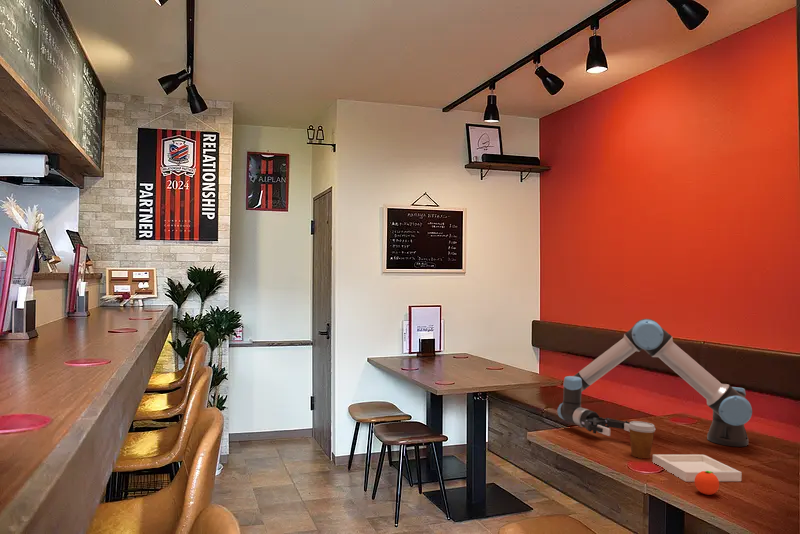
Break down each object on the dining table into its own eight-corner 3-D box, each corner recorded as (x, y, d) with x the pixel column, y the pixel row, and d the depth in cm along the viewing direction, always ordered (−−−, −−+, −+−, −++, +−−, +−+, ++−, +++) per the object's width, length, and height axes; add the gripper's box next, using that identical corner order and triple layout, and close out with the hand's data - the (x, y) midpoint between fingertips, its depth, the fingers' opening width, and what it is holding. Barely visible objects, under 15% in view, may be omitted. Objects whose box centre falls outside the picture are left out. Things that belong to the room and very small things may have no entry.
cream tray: (703, 462, 227) (703, 454, 227) (741, 481, 207) (741, 472, 207) (652, 462, 224) (652, 454, 224) (685, 481, 205) (686, 472, 205)
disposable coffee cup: (656, 461, 227) (658, 428, 227) (629, 458, 229) (630, 425, 229) (651, 454, 236) (653, 422, 236) (625, 451, 238) (626, 420, 238)
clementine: (701, 488, 199) (702, 465, 199) (724, 494, 194) (725, 471, 194) (690, 493, 194) (690, 470, 194) (713, 499, 188) (714, 476, 188)
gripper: (609, 426, 265) (647, 439, 245) (561, 429, 255) (597, 443, 235) (610, 408, 265) (648, 420, 245) (562, 411, 255) (598, 423, 236)
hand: (623, 431), depth 240 cm, fingers open, 13 cm apart
